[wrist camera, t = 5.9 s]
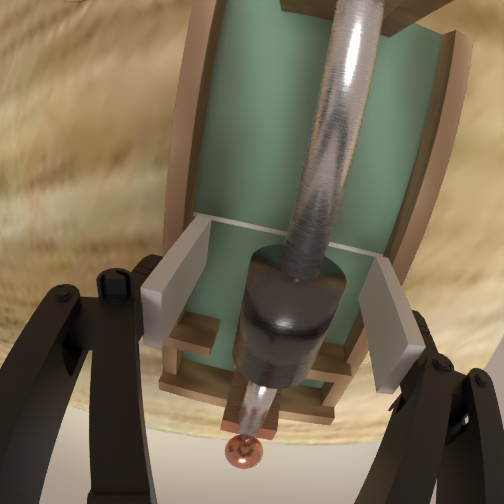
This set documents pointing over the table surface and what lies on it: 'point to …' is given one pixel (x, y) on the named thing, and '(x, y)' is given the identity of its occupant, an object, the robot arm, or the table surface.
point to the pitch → (299, 172)
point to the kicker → (302, 246)
